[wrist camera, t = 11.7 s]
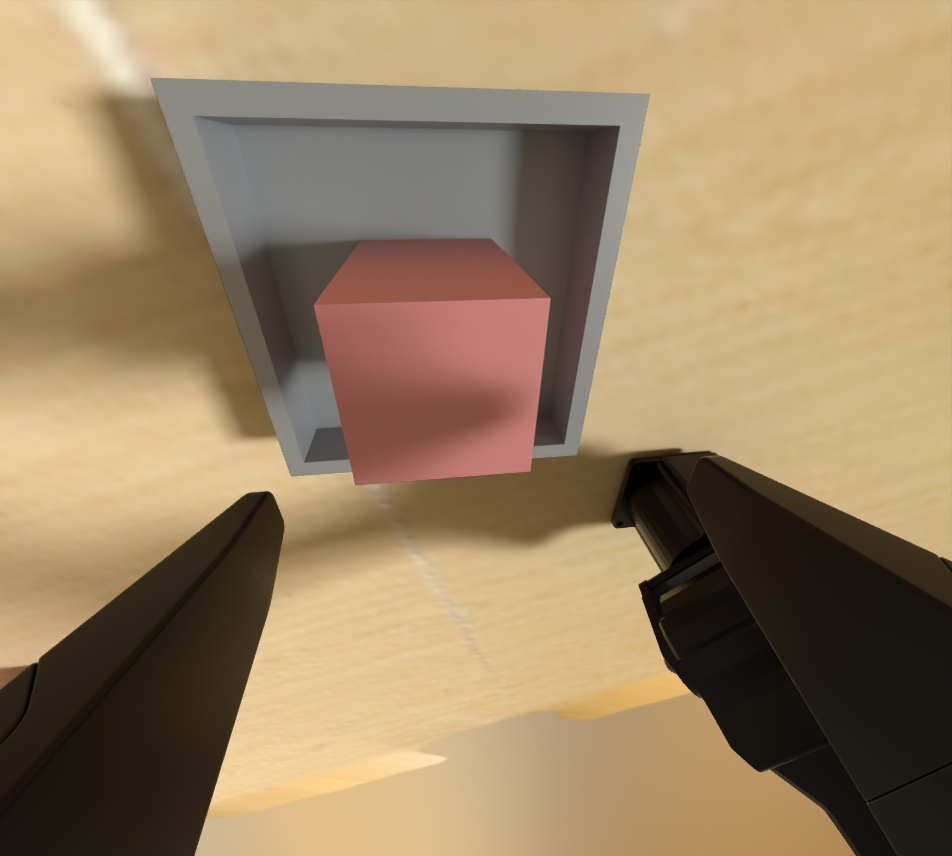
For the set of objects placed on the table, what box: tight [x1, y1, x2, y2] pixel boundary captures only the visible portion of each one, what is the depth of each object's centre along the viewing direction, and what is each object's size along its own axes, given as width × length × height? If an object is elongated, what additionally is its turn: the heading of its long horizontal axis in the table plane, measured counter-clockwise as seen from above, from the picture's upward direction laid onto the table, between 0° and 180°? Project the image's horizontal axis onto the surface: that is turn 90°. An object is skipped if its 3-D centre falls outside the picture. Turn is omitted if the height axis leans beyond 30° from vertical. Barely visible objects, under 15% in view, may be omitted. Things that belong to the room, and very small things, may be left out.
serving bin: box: [150, 78, 650, 476], centre depth 17 cm, size 15×15×4 cm
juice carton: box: [314, 239, 551, 485], centre depth 14 cm, size 6×6×9 cm
